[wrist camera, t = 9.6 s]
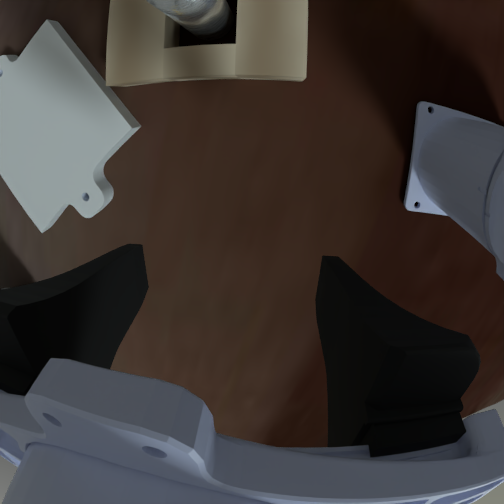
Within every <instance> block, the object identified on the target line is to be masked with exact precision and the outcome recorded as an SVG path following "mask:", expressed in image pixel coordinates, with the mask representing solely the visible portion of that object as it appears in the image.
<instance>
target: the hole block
mask: <svg viewBox="0 0 504 504" xmlns="http://www.w3.org/2000/svg"><path fill="white" fill-rule="evenodd" d="M307 33H308V0H238V3H237V27H236V44H212V45H195V46H183V47H179V40H180V24H179V23H177V22H176V21H174V20H173V19H172V18H170V17H169V16H167V15H166V14H164V13H163V12H162V11H160V10H159V9H157V8H156V7H154V6H153V5H151V4H150V3H148V2H147V1H146V0H110V9H109V20H108V33H107V52H106V86H134V85H141V84H150V83H160V82H171V81H185V80H205V79H265V80H285V81H299V82H302V81H303V80H304V79H305V78H306V66H307Z"/></svg>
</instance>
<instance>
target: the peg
mask: <svg viewBox="0 0 504 504" xmlns="http://www.w3.org/2000/svg"><path fill="white" fill-rule="evenodd" d="M146 1H147V2H148V3H150V4H151V5H153V6H154V7H156V8H157V9H159V10H160V11H162V12H163V13H164V14H166V15H167V16H169V17H170V18H172V19H173V20H174V21H176V22H177V23H179V24H180V25H181V26H183V27H184V28H185V29H187V30H188V31H189V32H191V33H192V34H193V35H195V36H196V37H198V38H199V39H202V40H216V39H219V38H221V37H223V36H225V35H226V34H227V33H228V32H229V31H230V30H231V28H232V26H233V23H234V15H233V13H232V11H231V9H230V7H229V5H228V3H227V1H226V0H146Z"/></svg>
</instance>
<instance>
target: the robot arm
mask: <svg viewBox="0 0 504 504" xmlns="http://www.w3.org/2000/svg"><path fill="white" fill-rule="evenodd" d="M428 107H431V109H432V111H431V113H429V112H428ZM416 202H418V206H416V207H414V204H415V203H416ZM404 206H405V208H406V209H407V210H409V211H417V212H424V213H432V214H440V215H447V216H450V217H451V218H452V219H453V220H454V221H456V222H457V223H458V224H459V225H460V226H462V227H463V228H464V229H465V230H466V231H467V232H468V233H470V234H471V235H472V236H473V237H474V238H475V239H476V240H478V241H479V242H480V243H481V244H482V245H483V246H484V247H485V248H486V249H487V250H488V251H489V252H491V253H492V254H493V255H494V256H495V258H496V262H497V270H496V272H497V274H498V275H499V276H500V277H501V278H502V279H503V280H504V127H503V126H500V125H497V124H495V123H492V122H489V121H487V120H484V119H481V118H478V117H475V116H472V115H469V114H466V113H463V112H460V111H457V110H453V109H450V108H447V107H443V106H440V105H436V104H432V103H428V102H423V101H421V102H419V103H418V104H417V109H416V120H415V130H414V139H413V147H412V155H411V162H410V169H409V175H408V181H407V187H406V193H405V198H404ZM148 287H149V286H148V280H147V274H146V267H145V261H144V254H143V247H142V245H140V244H127V245H124V246H121V247H119V248H117V249H115V250H112V251H110V252H108V253H106V254H104V255H102V256H100V257H98V258H96V259H94V260H92V261H90V262H88V263H86V264H83V265H81V266H79V267H77V268H75V269H73V270H70V271H68V272H65V273H63V274H60V275H58V276H55V277H52V278H49V279H46V280H42V281H39V282H35V283H32V284H28V285H23V286H19V287H13V288H7V289H0V455H1V456H2V457H3V458H5V459H6V460H8V461H9V462H11V463H12V464H14V465H15V466H17V467H18V469H17V471H16V473H15V475H14V477H13V480H12V482H11V484H10V486H9V488H8V490H7V493H6V495H5V498H4V500H3V502H2V504H470V503H473V502H475V501H476V500H478V499H479V498H481V497H482V496H484V495H485V494H487V493H488V492H490V491H491V490H493V489H494V488H495V487H497V486H498V485H500V484H501V483H502V482H504V427H503V424H502V422H501V420H500V418H499V415H498V413H497V411H496V409H492V410H489V411H485V412H481V413H477V414H473V415H471V416H468V417H467V418H465V419H464V420H463V421H462V418H461V415H460V413H459V412H461V411H462V410H463V404H462V402H461V399H460V398H461V397H462V395H463V394H464V393H465V391H466V390H467V388H468V387H469V385H470V384H471V382H472V381H473V379H474V378H475V376H476V374H477V372H478V370H479V366H480V362H481V361H480V355H479V353H478V351H477V350H476V348H475V346H474V344H473V343H472V341H471V339H470V338H469V336H468V335H465V334H462V333H459V332H456V331H452V330H449V329H446V328H443V327H441V326H438V325H436V324H433V323H431V322H428V321H426V320H424V319H422V318H420V317H418V316H416V315H414V314H412V313H410V312H408V311H406V310H405V309H403V308H401V307H399V306H398V305H396V304H395V303H393V302H392V301H390V300H389V299H387V298H386V297H384V296H383V295H382V294H380V293H379V292H378V291H376V290H375V289H374V288H373V287H371V286H370V285H369V284H368V283H367V282H366V281H364V280H363V279H362V278H361V277H360V276H359V275H358V274H357V273H356V272H354V271H353V270H352V269H351V268H350V267H349V266H348V265H347V264H346V263H345V262H344V261H343V260H341V259H340V258H339V257H336V256H322V262H321V269H320V275H319V281H318V287H317V293H316V299H315V300H316V316H317V324H318V329H319V334H320V339H321V345H322V350H323V355H324V360H325V366H326V373H327V391H328V447H325V448H285V447H274V446H269V445H264V444H259V443H255V442H250V441H246V440H242V439H238V438H234V437H230V436H226V435H223V434H219V433H216V432H215V429H214V423H213V416H212V414H211V412H210V411H209V409H208V407H207V406H206V404H205V402H204V401H203V400H202V399H200V398H199V397H197V396H196V395H194V394H193V393H191V392H190V391H188V390H187V389H185V388H184V387H182V386H178V385H175V384H172V383H169V382H166V381H163V380H160V379H154V378H149V377H143V376H138V375H133V374H128V373H124V372H119V371H114V370H110V367H111V365H112V362H113V359H114V357H115V354H116V352H117V349H118V347H119V345H120V343H121V341H122V340H123V338H124V336H125V334H126V332H127V331H128V329H129V327H130V325H131V324H132V322H133V320H134V318H135V316H136V315H137V313H138V311H139V309H140V307H141V305H142V303H143V300H144V298H145V295H146V293H147V290H148Z"/></svg>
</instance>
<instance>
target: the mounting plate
mask: <svg viewBox="0 0 504 504" xmlns="http://www.w3.org/2000/svg"><path fill="white" fill-rule="evenodd" d="M140 127H141V125H140V124H139V123H138V122H137V120H136V119H135V118H134V117H133V115H132V114H131V113H130V112H129V110H128V109H127V108H126V107H125V105H124V104H123V103H122V102H121V100H120V99H119V98H118V97H117V95H116V94H115V93H114V92H113V90H112V89H111V88H110V87H109V86H106V82H105V80H104V79H103V78H102V77H101V75H100V74H99V73H98V72H97V70H96V69H95V68H94V66H93V65H92V64H91V63H90V61H89V60H88V59H87V58H86V56H85V55H84V54H83V53H82V51H81V50H80V49H79V48H78V46H77V45H76V44H75V42H74V41H73V40H72V39H71V37H70V36H69V35H68V34H67V32H66V31H65V30H64V29H63V27H62V26H61V25H60V23H59V22H58V21H53V20H48V19H47V20H46V21H45V22H44V24H43V25H42V26H41V27H40V29H39V30H38V31H37V33H36V34H35V35H34V36H33V38H32V39H31V41H30V42H29V43H28V45H27V46H26V47H25V49H24V50H23V52H22V53H21V55H20V56H19V57H18V56H17V55H2V56H0V174H1V176H2V178H3V179H4V181H5V182H6V184H7V185H8V187H9V188H10V190H11V191H12V193H13V194H14V196H15V197H16V199H17V200H18V201H19V203H20V204H21V206H22V207H23V208H24V210H25V211H26V213H27V214H28V215H29V217H30V218H31V219H32V221H33V222H34V223H35V225H36V226H37V227H38V229H39V230H40V231H41V233H43V232H45V231H46V230H47V229H49V228H50V227H52V225H53V224H54V223H55V221H56V220H57V219H58V218H59V216H60V215H61V214H62V212H63V211H64V210H65V209H66V207H67V206H68V205H69V204H71V205H72V206H74V207H75V208H76V210H77V211H78V212H79V213H80V214H81V215H82V216H83V217H86V218H91V217H93V216H94V215H95V214H97V213H98V212H99V211H101V210H102V209H103V208H104V207H105V206H106V205H107V204H108V203H109V202H110V201H111V200H112V198H113V188H112V186H111V184H110V183H109V182H108V181H107V179H106V178H105V176H104V173H103V168H104V164H105V163H106V161H107V160H108V159H109V158H110V157H111V156H112V155H113V154H114V153H115V152H116V151H117V150H118V149H119V148H120V147H121V146H122V145H123V144H124V143H125V142H126V141H127V140H128V139H129V138H130V137H131V136H132V135H133V134H134V133H135V132H136V131H137V130H138V129H139V128H140Z"/></svg>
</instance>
